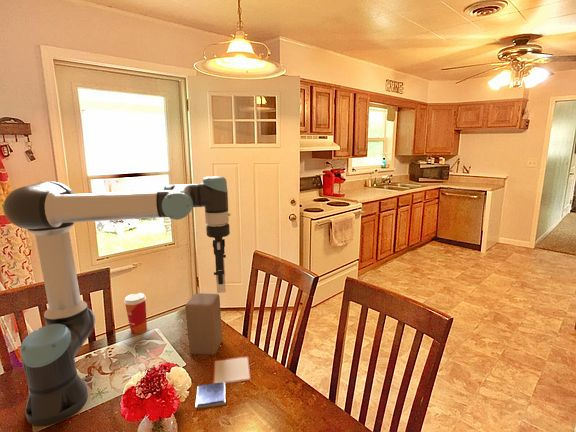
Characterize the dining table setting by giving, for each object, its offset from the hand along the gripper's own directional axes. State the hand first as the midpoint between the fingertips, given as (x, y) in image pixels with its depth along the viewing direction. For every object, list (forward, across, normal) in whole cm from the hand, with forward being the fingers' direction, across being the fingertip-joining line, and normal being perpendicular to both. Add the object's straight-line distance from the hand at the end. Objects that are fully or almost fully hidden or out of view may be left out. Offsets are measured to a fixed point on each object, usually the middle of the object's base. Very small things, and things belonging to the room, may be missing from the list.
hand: (221, 283), depth 115 cm
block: (+28, +7, +7) cm, 30 cm away
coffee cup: (+28, +25, +35) cm, 51 cm away
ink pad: (+28, -19, +5) cm, 34 cm away
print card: (+28, -8, -2) cm, 29 cm away
